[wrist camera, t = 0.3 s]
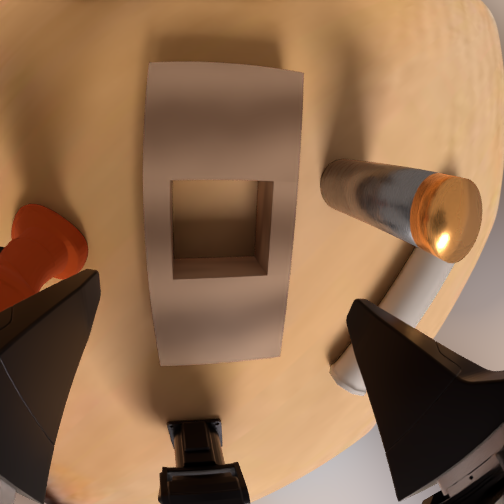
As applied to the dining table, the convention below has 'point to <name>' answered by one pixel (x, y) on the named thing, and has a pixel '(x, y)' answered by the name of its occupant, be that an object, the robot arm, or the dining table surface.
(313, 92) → the dining table surface
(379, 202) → the metallic cylinder
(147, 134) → the grey hollow block
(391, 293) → the tube
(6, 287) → the toy drill
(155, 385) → the dining table surface
